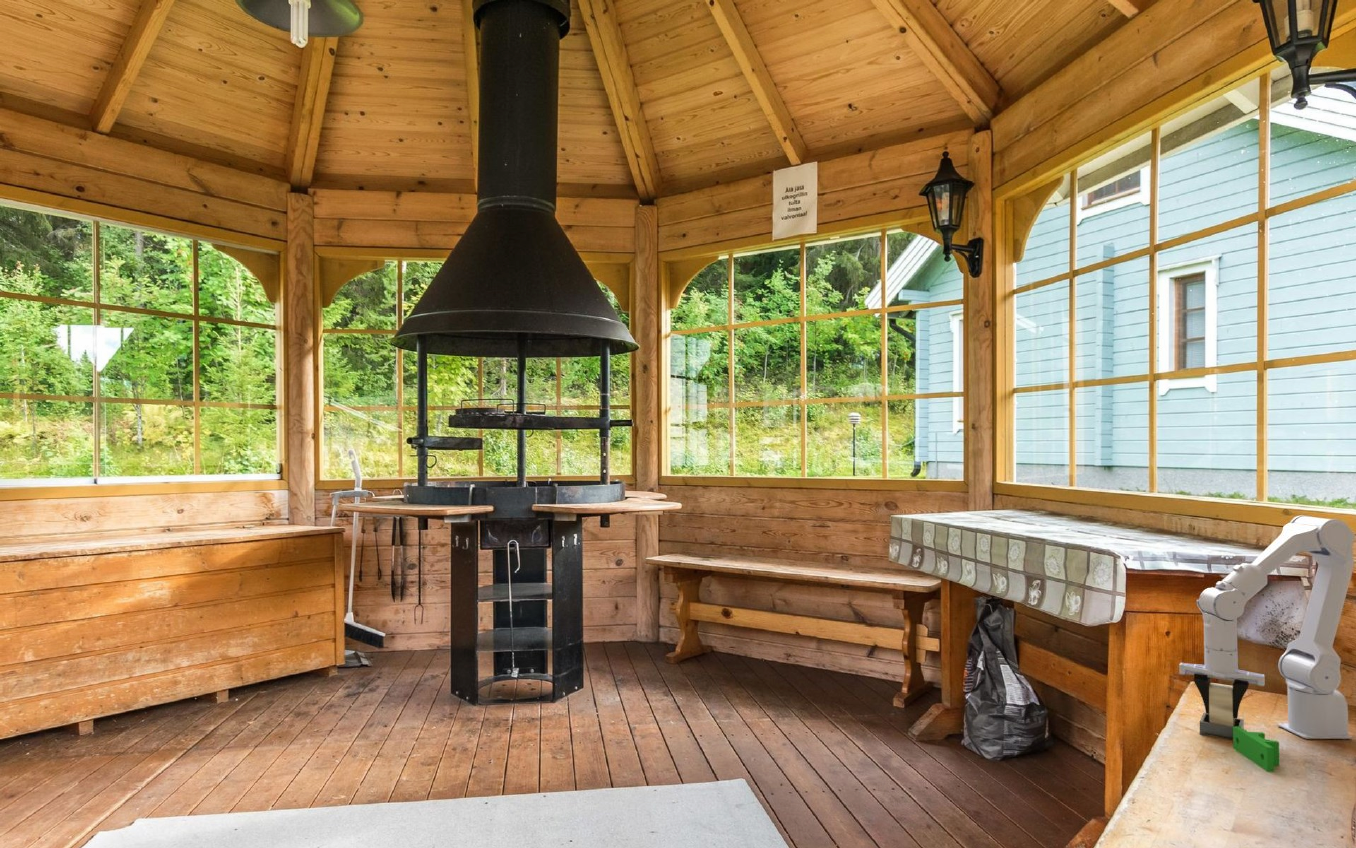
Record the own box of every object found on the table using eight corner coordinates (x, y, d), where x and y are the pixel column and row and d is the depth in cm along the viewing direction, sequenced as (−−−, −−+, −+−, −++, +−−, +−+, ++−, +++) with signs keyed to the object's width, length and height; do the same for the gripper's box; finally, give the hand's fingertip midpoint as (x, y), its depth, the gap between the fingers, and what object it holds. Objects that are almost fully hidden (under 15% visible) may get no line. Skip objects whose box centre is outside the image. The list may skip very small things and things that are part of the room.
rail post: (1211, 721, 172) (1211, 682, 172) (1234, 725, 170) (1234, 686, 170) (1209, 726, 169) (1208, 686, 169) (1232, 730, 167) (1232, 690, 167)
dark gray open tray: (1203, 724, 174) (1203, 712, 174) (1243, 731, 170) (1243, 719, 170) (1199, 734, 169) (1199, 721, 169) (1241, 741, 164) (1241, 728, 164)
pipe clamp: (1289, 774, 149) (1289, 748, 149) (1267, 773, 149) (1266, 747, 150) (1253, 750, 160) (1253, 726, 160) (1233, 749, 161) (1232, 725, 161)
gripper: (1176, 646, 171) (1177, 712, 171) (1262, 657, 162) (1263, 727, 162) (1181, 639, 176) (1182, 704, 176) (1264, 650, 167) (1265, 717, 167)
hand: (1221, 714), depth 169 cm, fingers closed on rail post, 4 cm apart
